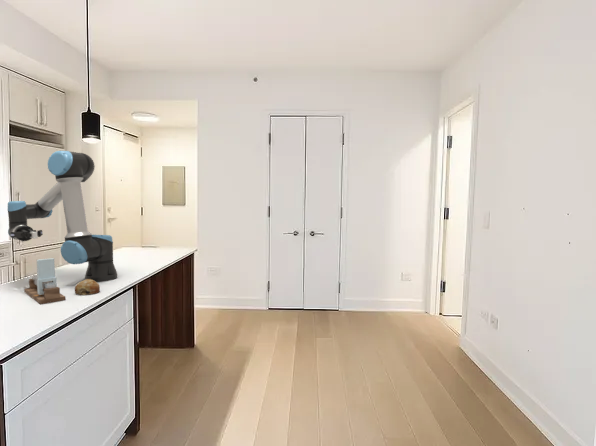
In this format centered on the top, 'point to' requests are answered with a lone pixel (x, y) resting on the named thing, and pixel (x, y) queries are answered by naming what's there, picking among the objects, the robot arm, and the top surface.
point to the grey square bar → (44, 283)
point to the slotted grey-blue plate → (45, 273)
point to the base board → (48, 295)
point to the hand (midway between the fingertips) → (35, 235)
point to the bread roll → (87, 287)
